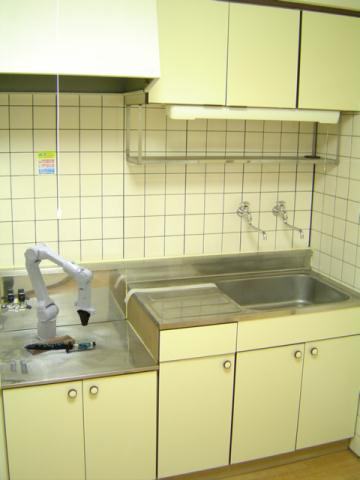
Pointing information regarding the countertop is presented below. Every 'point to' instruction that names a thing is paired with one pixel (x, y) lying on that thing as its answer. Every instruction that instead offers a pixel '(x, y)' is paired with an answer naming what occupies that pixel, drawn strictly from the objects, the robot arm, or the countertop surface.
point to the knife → (60, 346)
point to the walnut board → (54, 340)
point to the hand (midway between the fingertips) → (84, 325)
